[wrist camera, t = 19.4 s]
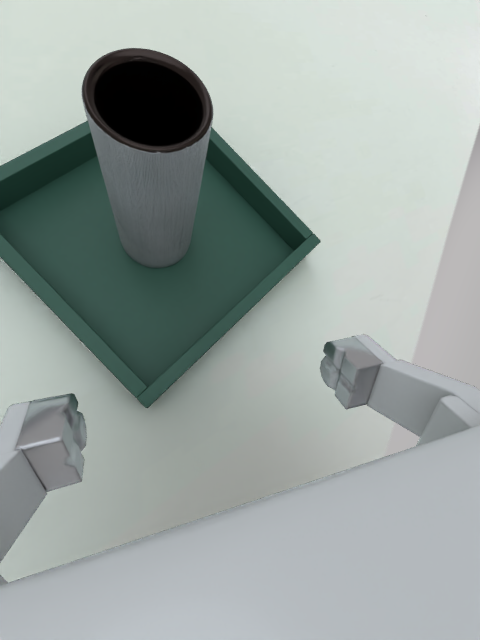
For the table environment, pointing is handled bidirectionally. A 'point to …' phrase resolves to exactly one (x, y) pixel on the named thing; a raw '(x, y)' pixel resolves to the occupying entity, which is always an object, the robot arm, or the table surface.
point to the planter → (149, 148)
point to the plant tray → (133, 278)
